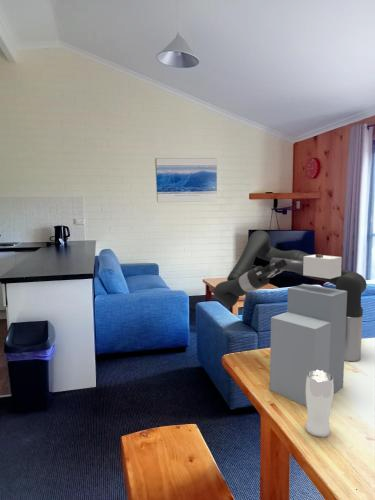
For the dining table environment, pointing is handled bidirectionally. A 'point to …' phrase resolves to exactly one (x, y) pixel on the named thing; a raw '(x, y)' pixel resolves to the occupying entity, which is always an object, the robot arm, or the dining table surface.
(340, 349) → the stepped stand
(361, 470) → the dining table surface
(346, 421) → the dining table surface
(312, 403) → the beer glass
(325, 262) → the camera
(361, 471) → the dining table surface
